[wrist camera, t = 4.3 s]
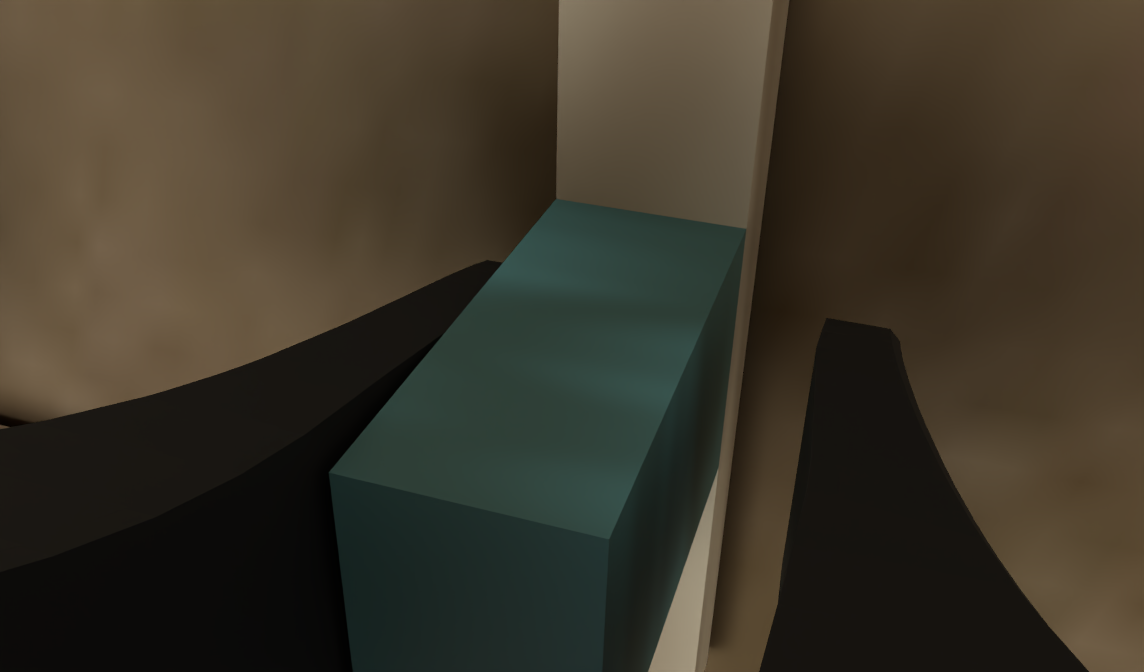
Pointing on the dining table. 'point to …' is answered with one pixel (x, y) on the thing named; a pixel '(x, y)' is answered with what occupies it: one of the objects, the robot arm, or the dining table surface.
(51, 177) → the dining table surface
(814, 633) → the robot arm
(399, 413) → the teal-tipped beige rail
